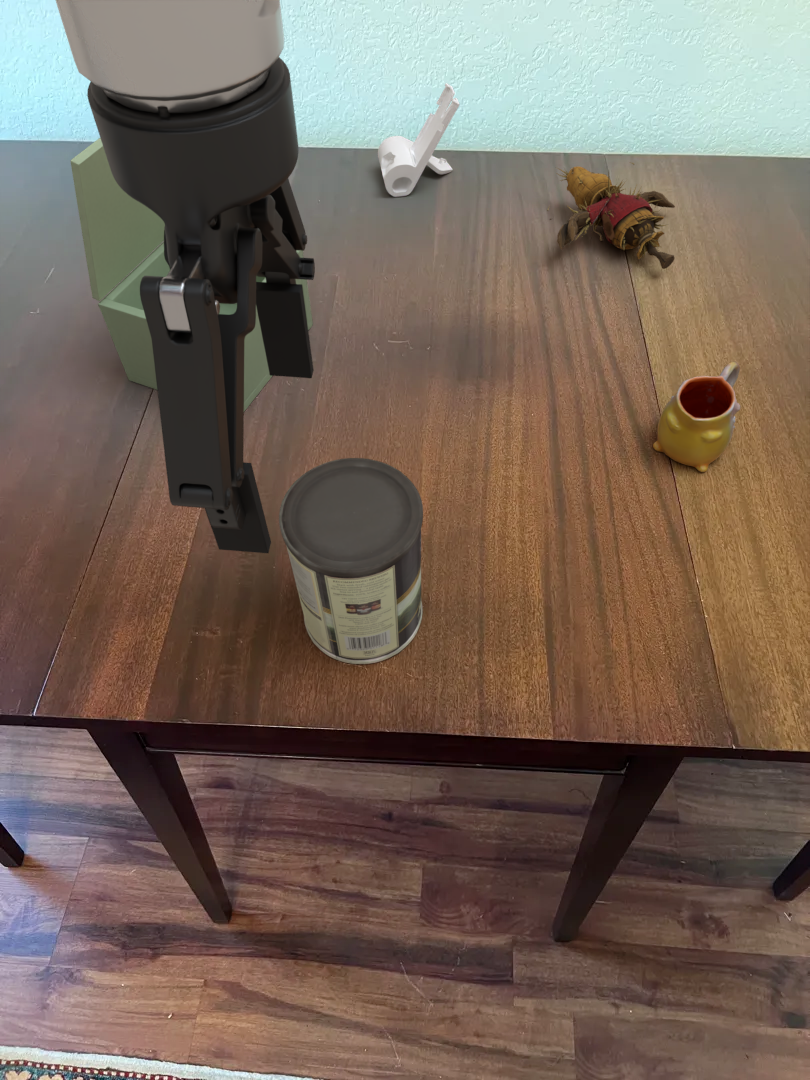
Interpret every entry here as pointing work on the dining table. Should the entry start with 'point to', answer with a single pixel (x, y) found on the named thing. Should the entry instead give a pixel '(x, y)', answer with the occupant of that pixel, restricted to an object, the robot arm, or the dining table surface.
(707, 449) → the mug
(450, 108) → the plastic part
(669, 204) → the scarecrow
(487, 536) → the dining table surface
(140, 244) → the lid
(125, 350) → the chest
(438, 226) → the dining table surface
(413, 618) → the coffee can
